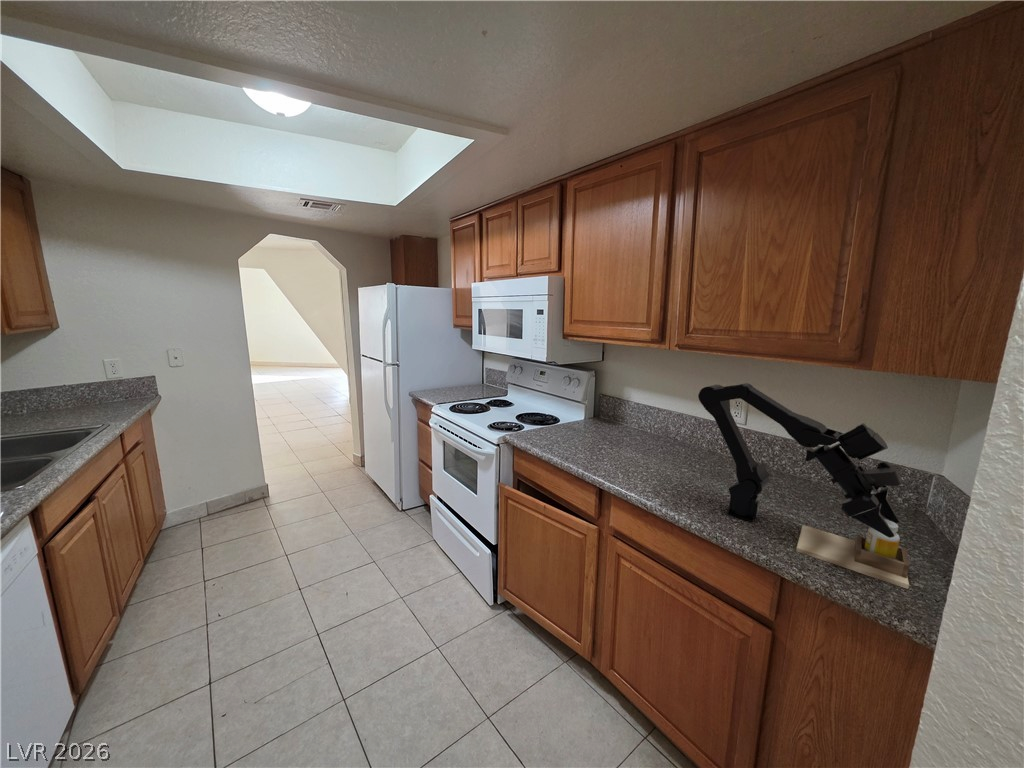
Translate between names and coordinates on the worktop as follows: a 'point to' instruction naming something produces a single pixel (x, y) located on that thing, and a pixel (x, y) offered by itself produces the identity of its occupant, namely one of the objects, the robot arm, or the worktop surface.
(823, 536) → the socket board
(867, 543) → the supplement bottle
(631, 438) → the worktop surface
